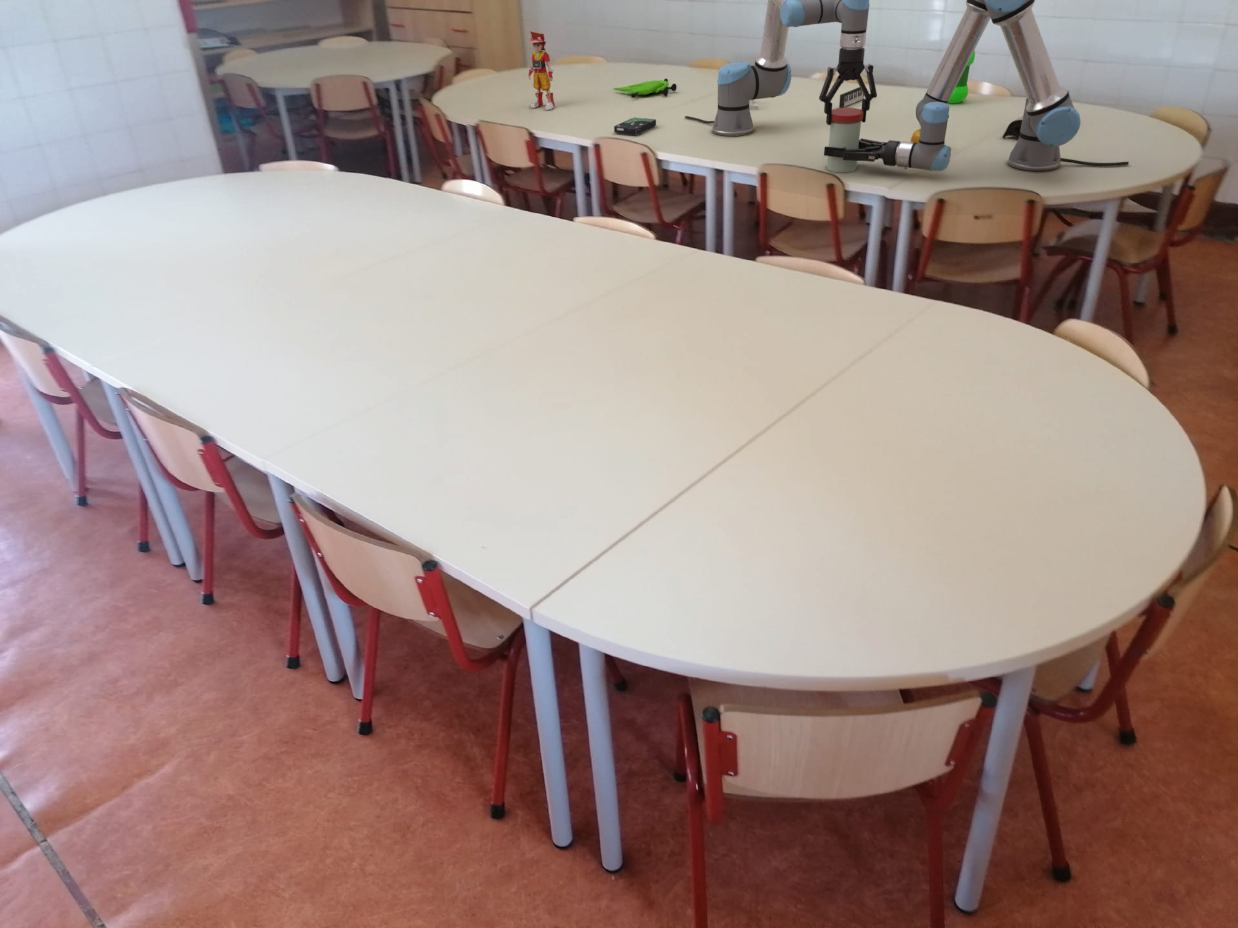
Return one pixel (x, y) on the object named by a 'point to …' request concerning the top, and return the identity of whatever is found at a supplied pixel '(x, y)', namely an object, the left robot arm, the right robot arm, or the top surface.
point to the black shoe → (1014, 128)
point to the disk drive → (635, 126)
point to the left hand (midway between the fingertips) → (845, 122)
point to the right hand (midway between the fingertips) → (830, 147)
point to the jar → (843, 145)
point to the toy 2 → (648, 88)
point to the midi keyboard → (851, 97)
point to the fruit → (916, 136)
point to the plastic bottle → (962, 85)
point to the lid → (847, 115)
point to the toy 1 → (541, 71)
